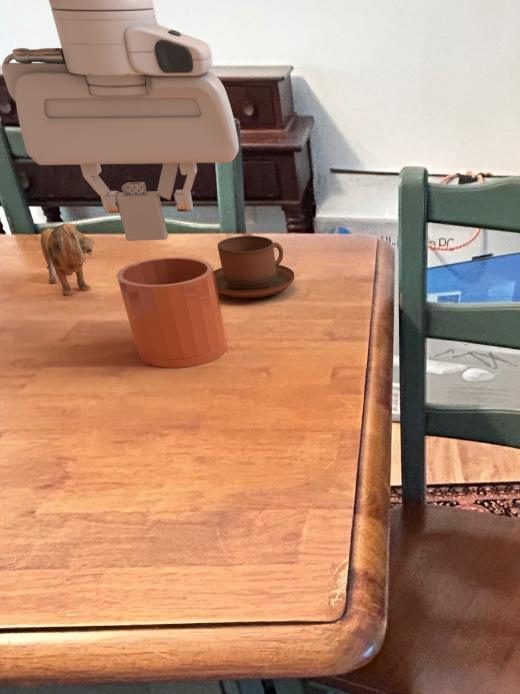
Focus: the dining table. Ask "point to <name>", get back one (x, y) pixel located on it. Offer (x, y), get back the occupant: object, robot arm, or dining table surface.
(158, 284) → the terracotta-colored cup
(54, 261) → the lion figurine
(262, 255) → the cup and saucer
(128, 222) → the lighter
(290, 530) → the dining table surface
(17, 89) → the robot arm
